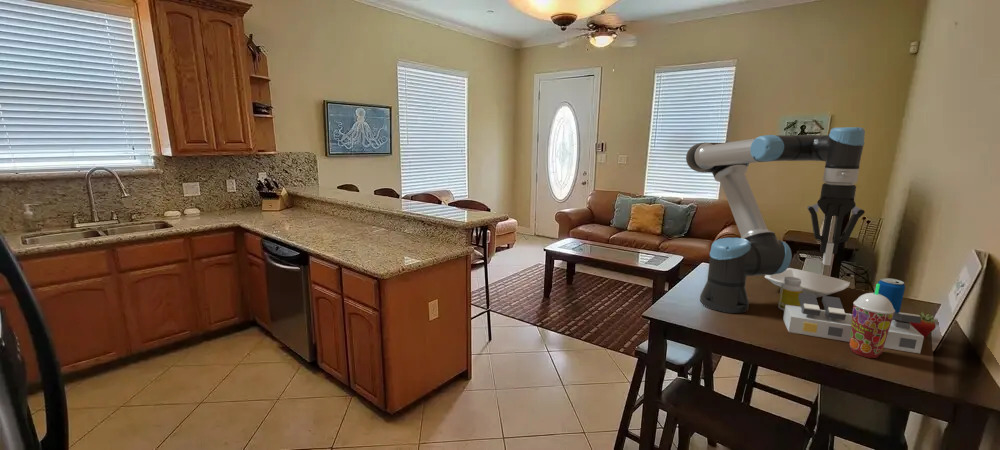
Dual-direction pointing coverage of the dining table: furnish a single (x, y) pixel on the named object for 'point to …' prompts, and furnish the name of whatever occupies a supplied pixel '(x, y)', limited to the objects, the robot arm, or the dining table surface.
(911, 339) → the switch unit
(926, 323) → the fruit
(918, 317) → the rocker
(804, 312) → the rocker
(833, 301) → the rocker
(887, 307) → the smoothie
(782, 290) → the pill bottle
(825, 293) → the bowl
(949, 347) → the dining table surface
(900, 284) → the beverage can
